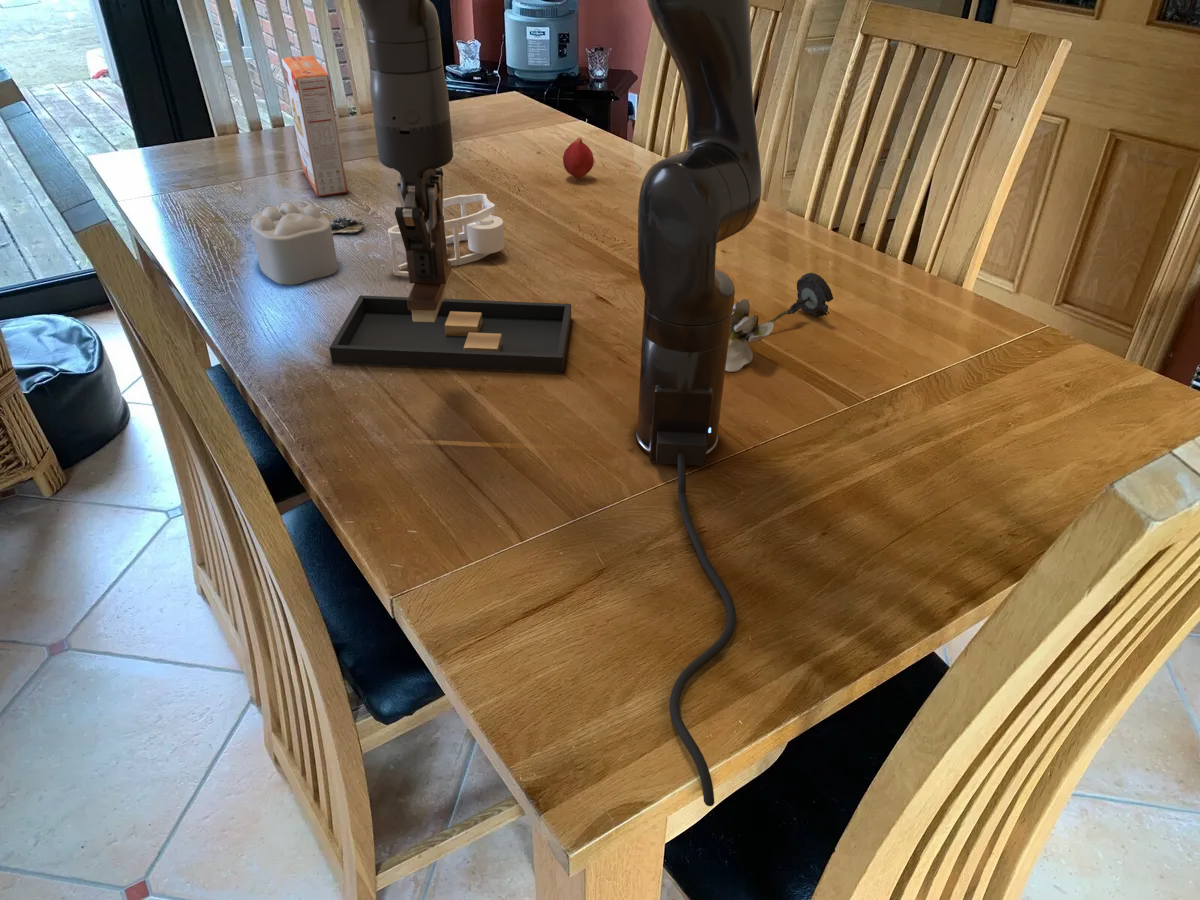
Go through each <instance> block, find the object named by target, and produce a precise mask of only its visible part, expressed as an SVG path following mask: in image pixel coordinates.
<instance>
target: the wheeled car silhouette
mask: <svg viewBox="0 0 1200 900" xmlns="http://www.w3.org/2000/svg"><path fill="white" fill-rule="evenodd" d="M477 202H481V210H479V211H477V212H475V213H472V214H469V215H468V214H467V204H469V203H471V204H472V203H477ZM454 205H460V212H461V213H460V214H461V217H458V218H457V217H456V218H453V219H448V220H444V226H445V230H449V229H452V234H451V235H447V233H446V232H445V237H446V247H447V255H448V254H449V249H448V246H447V245H449V244H453V249H454V258H448V260H450V261H451V266H461V265H466V264H470V263H473V262H475V261H479V260H481V259H484V258H485V257H487V256H488V255H490V254H494V253H498V252H501V251H502V250H503V249H504V247H505V235H504V233H505V232H504V220H503V219H502V218H501V217H499V216H497V215H493V214H495V213H496V205H495V203H493V202H492V201H490V200H489V199H488V195H487V194H486V193H473V194H459V195H454V196H449V197H447V198H443V216H444V217H445V209H444V208H446V207H450V206H454ZM459 227H461V228H462V232H459ZM387 234H388V239H389V246H390V253H391V262H392V268H393V269H392V272H393V275H394V276H396V277H397V276H398V277H409V274H408V271H404V269H408V266H407V262H404V263H401V264H399V260H398V259H399V258H398V251H397V244H396V241H399V242H403V239H402V236H401V233H400V229H399V226H398V224H396V225H394V226H391V227H390V228H388V229H387ZM460 241H467V248H468V250H470V251H471V252H473V253H469V254H466V255H465V254H464V255H463V256H461V247H460Z"/></svg>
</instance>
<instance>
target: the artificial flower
mask: <svg viewBox="0 0 1200 900" xmlns="http://www.w3.org/2000/svg"><path fill="white" fill-rule="evenodd" d="M796 291H797V294H796V295H797V299H796V302H794V303H793V304H792V305H791V306H790V308H789V309H787V310H786V311H784V310H783V312H780V313H779V314H778V315H777V316H775V317H774V318H772V319H771V320H768V321H765V322H764V323H763V322H762V323H761V324H759V316H758V315H756V314H754V315H752V316H750V309H751V304H750V300H749V299H747V298H742V299H740V300H739V301H737V302H735V303H734V304H733V311H732V319H731V327H730V336H729V343H728V351H727V359H726V368H725V372H728V373H734V372H738V371H740V370H741V369H743V367H744V366H745V365H747V364H749V363H751V362H752V361H753V358H754V354H753V353H754V352H753V350H752V349H751V346H750V345H749V343H757V342H758V343H759V342H761V341H762V340H764V338H765V337H768V336H769V335H770V334H771V332H772V331H773V330H774V327H775V323H774V322H776V321H777V320H778V319H781V318H782V317H784V316H785V315H786V316H787V315H794V314H796V313H797V312H798V311H799V310H801V311H802V312H804V313H808V314H810V315H812V316H814V317H816V318H820V317H824V316H828V315H830V312H829V311H828V310H829V305H828V304H826V303H830V302H832V300H834V295H833V292H832V289H831V287H830V286H829V284H828V282H827V281H826V280H825V279H824V278H823V277H822V276H821V275H820V274H817V273H814V272H806V273H805V274H803V275H801V277H800V278H799V279H798V280H797V281H796Z"/></svg>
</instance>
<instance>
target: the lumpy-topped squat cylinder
mask: <svg viewBox="0 0 1200 900" xmlns="http://www.w3.org/2000/svg"><path fill="white" fill-rule="evenodd" d="M250 228H251V233H252V237H253V241H254V246H255V251H256V255H257V260H258V264H259V269H260V271H261V272H262V273H263V274H264V275H265V276H266V277H268V278H269V279H270V280H272V281H273V282H275V283H276V284H280V285H287V286H294V285H300V284H303V283H305V282H308V281H311V280H314V279H318V278H324V277H328V276H331V275H334V274H335V273H336V272H337V271H338V269H339V265H338V259H337V254H336V247H335V241H334V234H333V233H332V229H331V221H330V220H329V219H328V217H326V216H325V215H324V214H322V213H321V210H320V209H319V208H318V207H317V206H316V205H312V204H309V205H306V206H304V207H303V206H297V205H295V204H294V203H292V202H283V203H281V204H278V205H276V206H266V207H265V208H264V209H263V210H261V211H259V212H258V213H256V214H255V215H254V216H253V217H252V220H251V222H250Z"/></svg>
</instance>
